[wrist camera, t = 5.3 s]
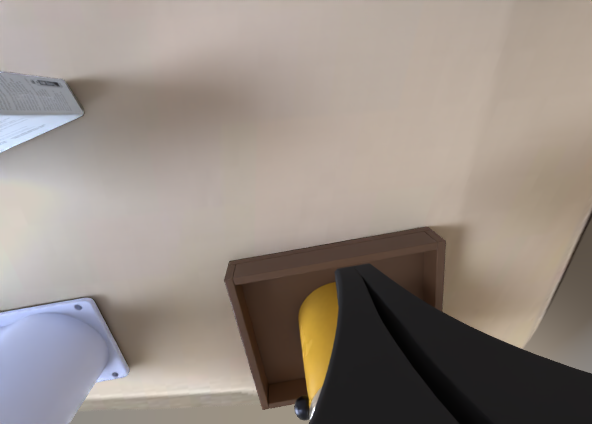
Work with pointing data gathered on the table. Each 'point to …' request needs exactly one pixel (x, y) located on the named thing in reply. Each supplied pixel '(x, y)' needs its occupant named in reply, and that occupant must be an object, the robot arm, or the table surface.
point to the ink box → (33, 107)
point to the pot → (316, 343)
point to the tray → (302, 282)
